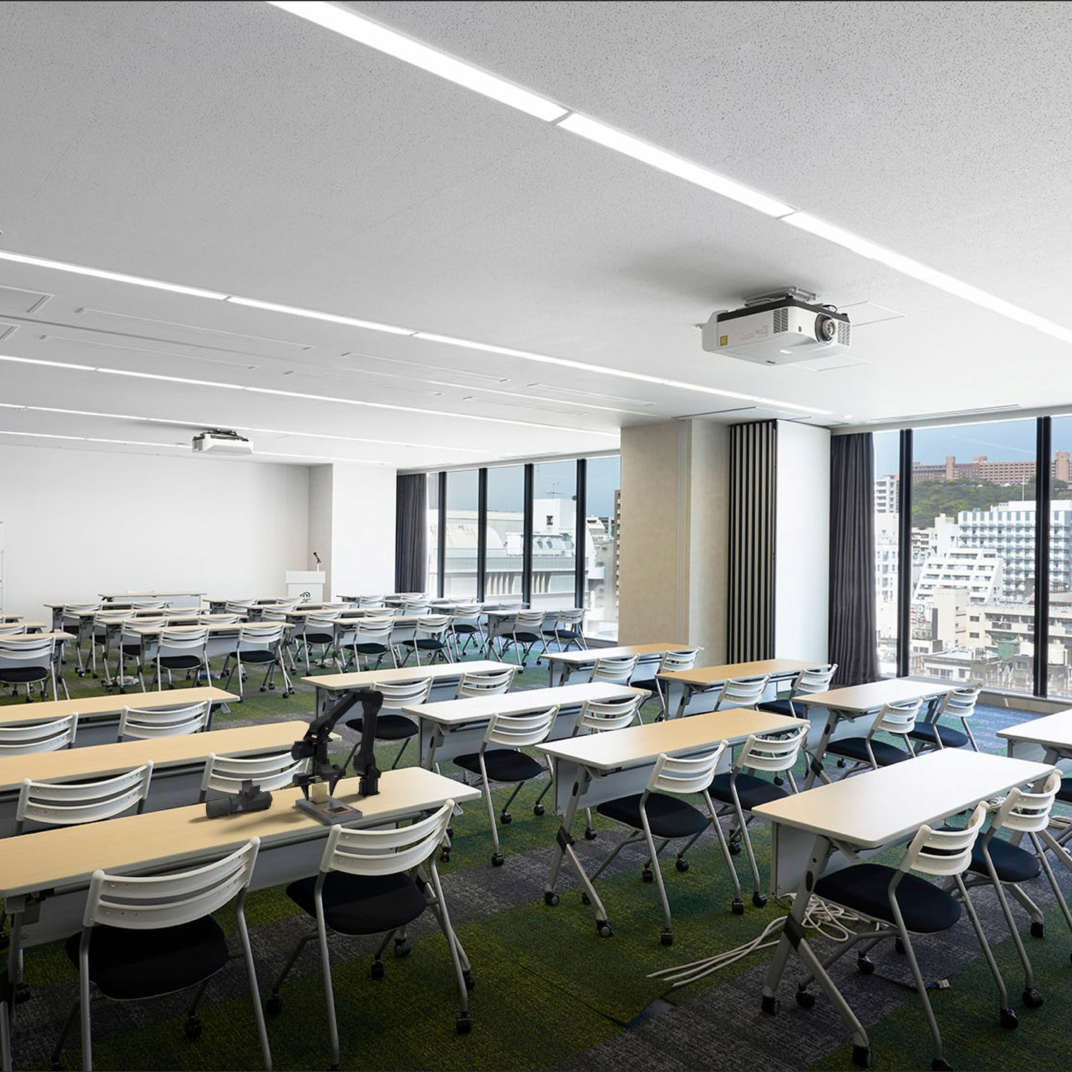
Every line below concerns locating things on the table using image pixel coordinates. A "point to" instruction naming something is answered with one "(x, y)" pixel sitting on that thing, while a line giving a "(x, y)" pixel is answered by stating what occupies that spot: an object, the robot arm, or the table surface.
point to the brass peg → (319, 793)
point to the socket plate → (330, 810)
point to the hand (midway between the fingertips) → (319, 798)
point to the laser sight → (240, 801)
